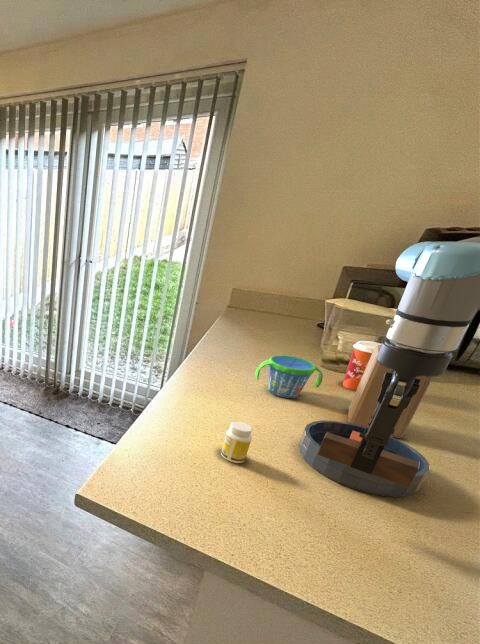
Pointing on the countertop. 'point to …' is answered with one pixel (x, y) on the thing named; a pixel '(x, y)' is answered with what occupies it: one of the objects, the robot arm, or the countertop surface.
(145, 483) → the countertop surface
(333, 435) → the stick
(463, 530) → the countertop surface
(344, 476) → the bowl
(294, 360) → the snack cup
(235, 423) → the supplement bottle
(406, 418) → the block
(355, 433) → the block terracotta
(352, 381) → the paper cup
